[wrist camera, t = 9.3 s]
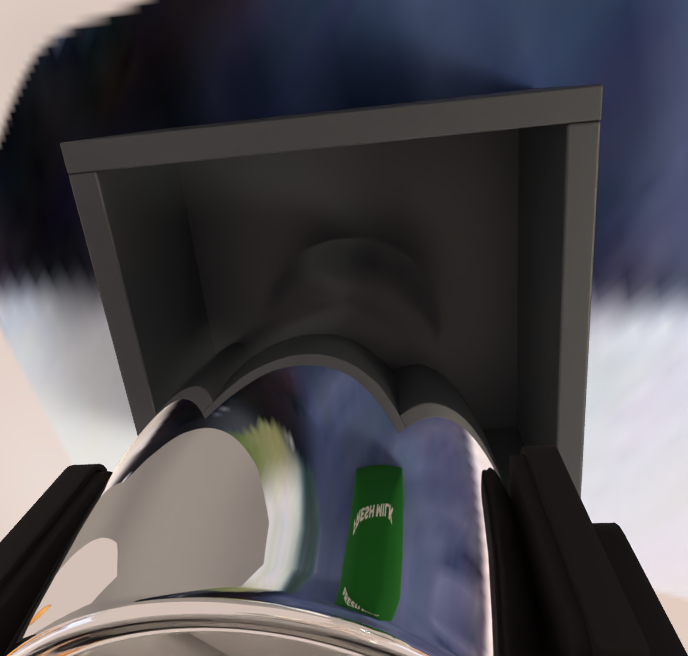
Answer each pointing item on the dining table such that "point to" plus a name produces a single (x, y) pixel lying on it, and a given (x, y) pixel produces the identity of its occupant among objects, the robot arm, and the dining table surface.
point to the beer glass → (303, 495)
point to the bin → (364, 223)
